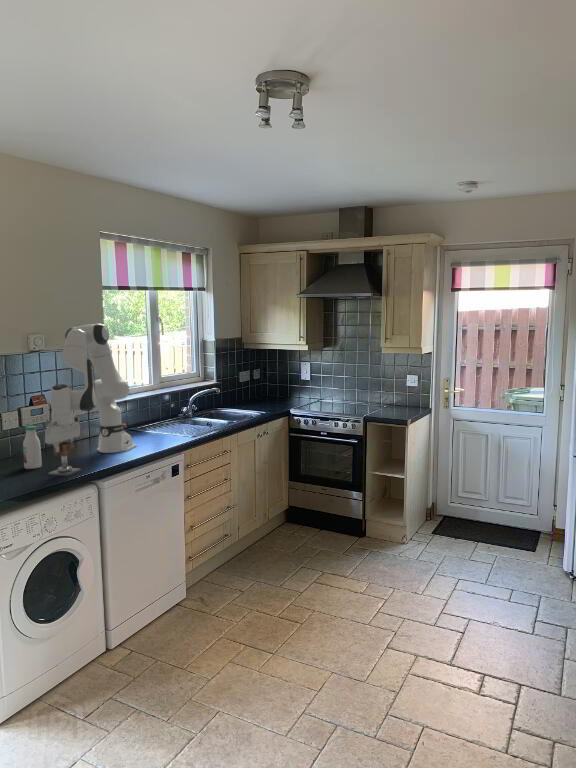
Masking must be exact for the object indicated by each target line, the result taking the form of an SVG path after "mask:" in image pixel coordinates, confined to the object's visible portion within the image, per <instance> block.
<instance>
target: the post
mask: <svg viewBox="0 0 576 768" xmlns="http://www.w3.org/2000/svg"><path fill="white" fill-rule="evenodd" d="M60 457H61V458H60V459H61V466H58V467H57V469H54V470H52V471H49V472H48V475H49V476H60V477H62V476H65V477H68V476H70V475H74V474H77V473H78V472H81V471H82V468H79V467H72V466H71V465H68V455H66V456H60Z"/></svg>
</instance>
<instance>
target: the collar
mask: <svg viewBox="0 0 576 768" xmlns="http://www.w3.org/2000/svg"><path fill="white" fill-rule="evenodd" d="M52 445H53V444H52ZM59 447H60V448H61V451H60V452H56V448H55V447H54V445H53V455H54V456H59V457H61V456H66V455H67V456H69V455H72V454H74V453H75V452H74V451H75V449H74V442H68V441H62V442H59Z"/></svg>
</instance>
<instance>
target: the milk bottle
mask: <svg viewBox="0 0 576 768" xmlns="http://www.w3.org/2000/svg"><path fill="white" fill-rule="evenodd" d="M24 429H25V437H24V439H23V442H22V451H23V467H24V469H25V470H33V469H38V468H42V465H43V464H42V463H43V461H42V451H41V450H42V449H41V441H40V439H39V437H38V435H37V433H36V431H37V426H36V425H28V426H25V428H24Z"/></svg>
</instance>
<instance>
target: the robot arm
mask: <svg viewBox="0 0 576 768" xmlns="http://www.w3.org/2000/svg"><path fill="white" fill-rule="evenodd" d="M64 335H65V336H64V338H65V341H64V345H63V351H62V360H63V362H64V364H66V366H67V367H69V368H71V369H73V370H76V371H78V372H80V373H81V372H82V373H83V378H84V380H83V381H84V383H83V384H84V388H83V389H80V390H79V389H76V390H75V389H74V390H73V389H71V390H70V386H69V385H68V384H65V383H64V384H55V385H53V386H51V389H50V393H49V395H50V397H49V398H50V399H49V401H50V408H51V414H50V418H51V422H49V423H47V425H46V427H45V431H44V432H45V433H44V442H45V444H46V445H54V446H53V448H54V447H55V448H56V452H60V451H61V448H60V447H59V443H60V442H73V441H74V439H75V438H78V437H80V435H81V426H80V423H79V422H80V417H79V416H76V415H73V412H74V411H77V412H78V411H81V412H83V411H84V412H91V411H92V410H93V409H95V408H96V406H97V408H98V411H99V412H98V413H99V423H100V425H99V432H100V434H99V435H98V447H97V448H96V450H97V451H98V452H99V453H103V454H108V453H111V454H112V453H121V452H129V451H130V450H132V449H134V448H135V447H137V446H138V445H137V443H133V438H132V436H131V435H130V434H129V433H128V432H126V431H125V428H126V427H127V424H126V423H123V422H122V410H121V408H120V407H119V406H118V405H117V402H116V401H120V400H123V399H124V400H125V399H127V397H129V394H130V386H129V383H127V382H126V381H125V380H124V379H123V378H122V376H121V375H120V374H119V372H118V370H117V367H116V365H115V363H114V358H113V355H112V351H111V347H110V344H109V343H108V341H109V340H110V339H109V338H110V333H109V329H108V327H107V326H106V325H105V324H103V323H94V324H93V323H92V324H84V325H80V326H73V327H70V328H68V329H67V330H66V332H65V334H64ZM88 354H89V357H88ZM95 374H96V375H97V376H98V377H99V379H96V380H95ZM73 443H74V442H73Z"/></svg>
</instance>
